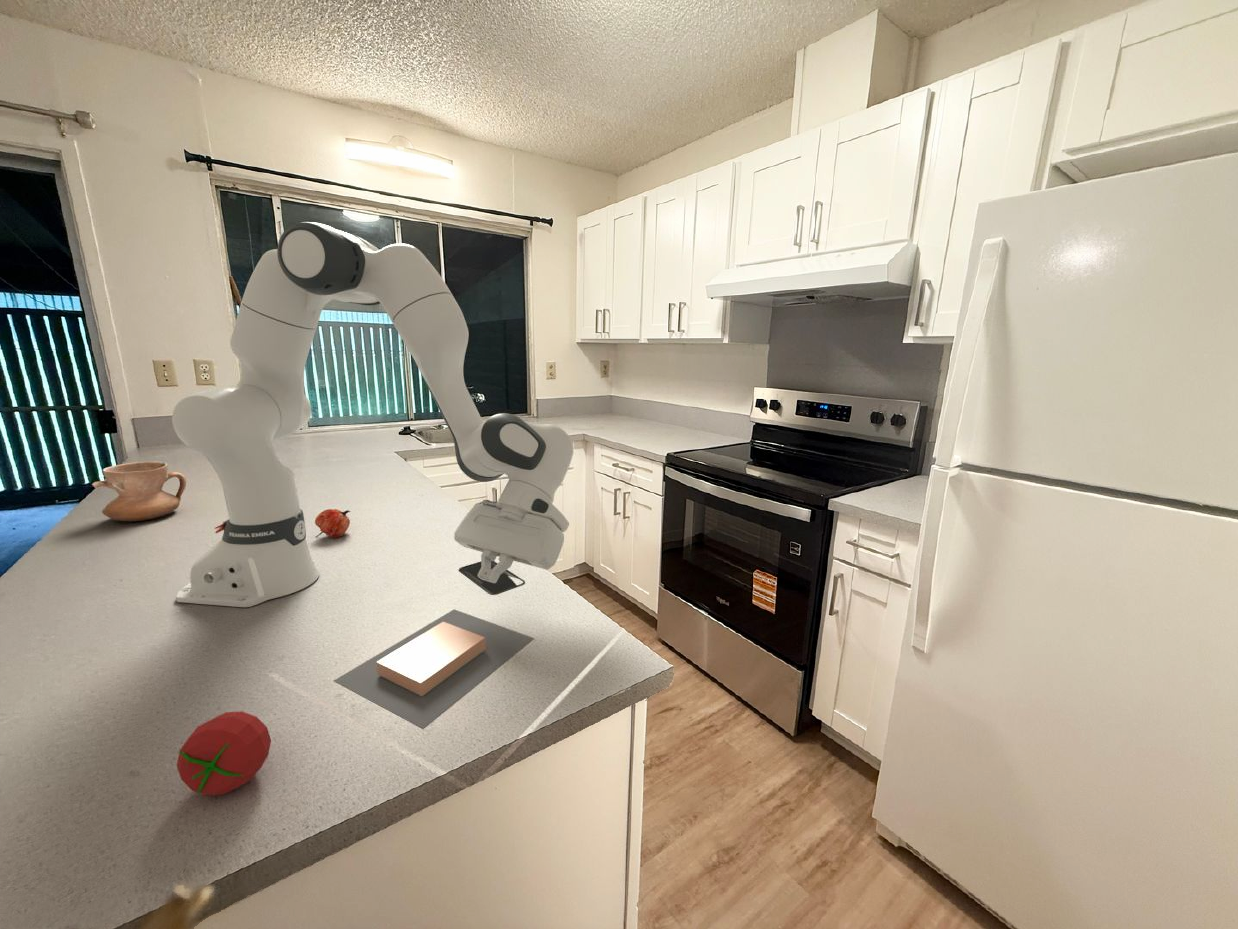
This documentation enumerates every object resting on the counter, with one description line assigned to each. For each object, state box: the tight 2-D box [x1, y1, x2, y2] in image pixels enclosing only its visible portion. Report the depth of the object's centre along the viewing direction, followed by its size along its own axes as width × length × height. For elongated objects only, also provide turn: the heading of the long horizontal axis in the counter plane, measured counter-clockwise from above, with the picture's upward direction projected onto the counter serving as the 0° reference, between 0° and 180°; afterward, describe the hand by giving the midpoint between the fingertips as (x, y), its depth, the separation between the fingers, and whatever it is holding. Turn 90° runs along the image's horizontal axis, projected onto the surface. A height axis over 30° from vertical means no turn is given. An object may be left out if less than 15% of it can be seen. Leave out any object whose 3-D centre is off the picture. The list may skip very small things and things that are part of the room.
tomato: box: [176, 711, 272, 797], centre depth 51 cm, size 8×8×8 cm
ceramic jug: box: [91, 461, 187, 522], centre depth 130 cm, size 18×14×14 cm
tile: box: [376, 622, 486, 696], centre depth 71 cm, size 2×9×12 cm
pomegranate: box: [314, 508, 351, 539], centre depth 119 cm, size 7×7×10 cm
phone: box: [458, 561, 526, 596], centre depth 99 cm, size 8×1×15 cm
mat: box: [333, 609, 535, 730], centre depth 73 cm, size 22×18×1 cm
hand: (486, 580), depth 79 cm, fingers closed
